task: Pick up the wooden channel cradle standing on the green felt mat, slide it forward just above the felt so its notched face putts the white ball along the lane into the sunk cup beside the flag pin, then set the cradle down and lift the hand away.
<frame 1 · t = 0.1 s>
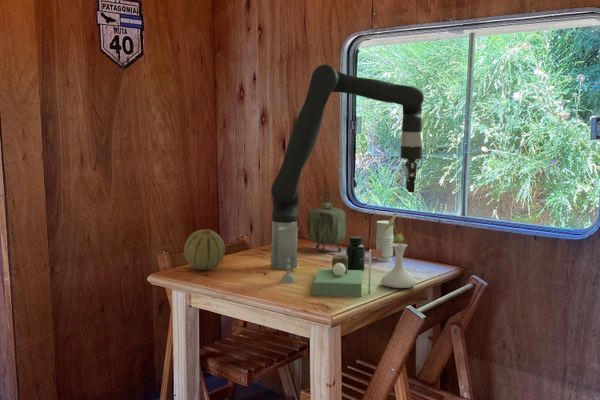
hand: (410, 190, 216), 29 cm above the table, tool pointing down, fingers open, 8 cm apart
supplement bottle: (355, 270, 221), on the table
flag pin: (369, 293, 190), on the table
chalice: (288, 281, 204), on the table
cantaloupe: (204, 270, 219), on the table
candle: (384, 260, 238), on the table
green: (338, 287, 197), on the table
ball: (339, 269, 201), point 5 cm above the table, touching green
tabletop clock: (325, 251, 253), on the table
wooden channel cradle: (340, 271, 209), point 2 cm above the table, touching green
flower in vase: (396, 287, 198), on the table
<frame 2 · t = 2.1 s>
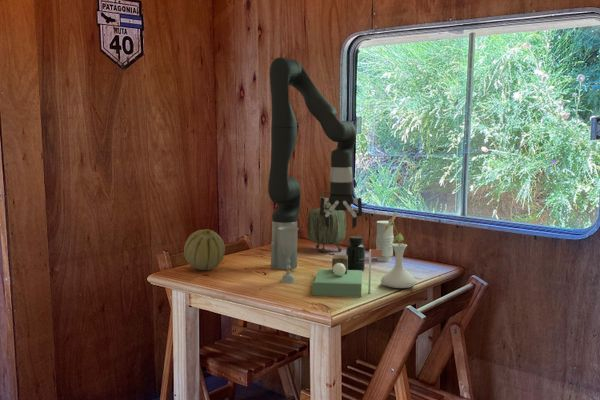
hand: (340, 227, 207), 17 cm above the table, tool pointing down, fingers open, 8 cm apart
nothing on the table moved.
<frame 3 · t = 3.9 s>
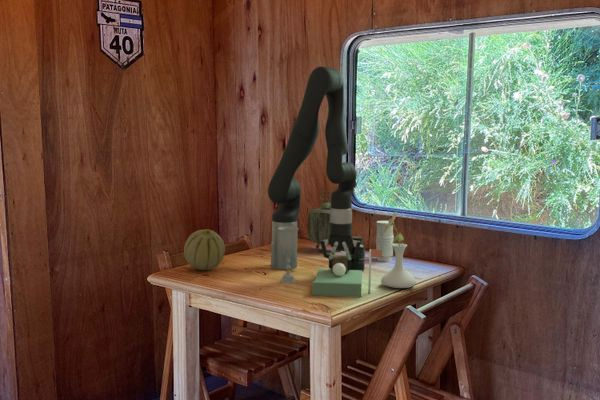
hand: (340, 269, 209), 3 cm above the table, tool pointing down, fingers closed on wooden channel cradle, 5 cm apart
wooden channel cradle: (340, 271, 209), point 2 cm above the table, touching green, gripper
everything else where it was.
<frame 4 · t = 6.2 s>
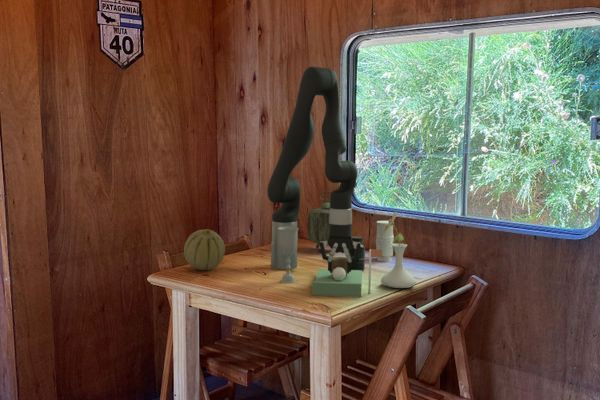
hand: (339, 272, 201), 4 cm above the table, tool pointing down, fingers closed on wooden channel cradle, 5 cm apart
ball: (339, 273, 196), point 5 cm above the table, tilted 103°
wooden channel cradle: (339, 273, 201), point 3 cm above the table, touching gripper
everything else where it was.
when the fingers open (4 cm above the table, at t = 9.4 s): wooden channel cradle drops 1 cm, resting on green.
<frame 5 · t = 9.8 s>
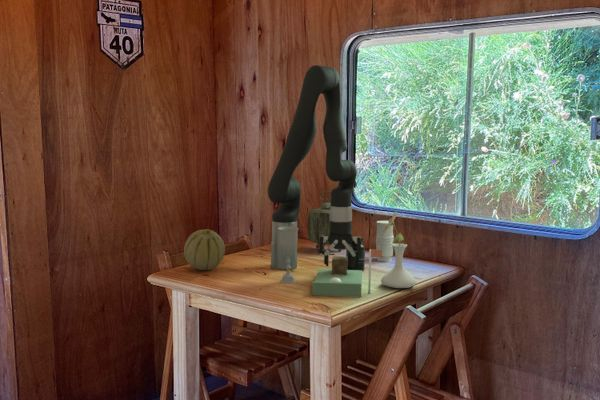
hand: (339, 266, 206), 4 cm above the table, tool pointing down, fingers open, 8 cm apart
ball: (335, 284, 192), point 2 cm above the table, tilted 133°
wooden channel cradle: (339, 272, 207), point 2 cm above the table, touching green
everything else where it was.
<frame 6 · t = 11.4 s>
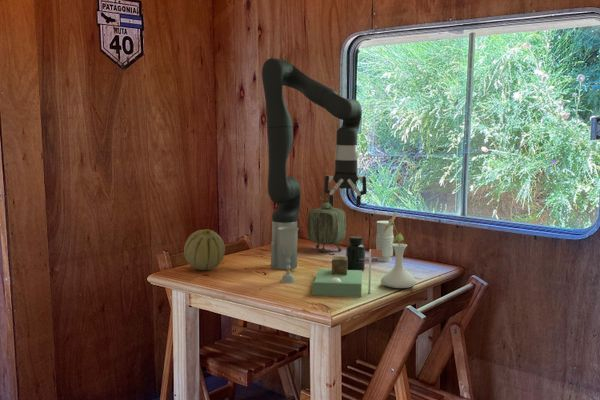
hand: (344, 206, 207), 25 cm above the table, tool pointing down, fingers open, 8 cm apart
nothing on the table moved.
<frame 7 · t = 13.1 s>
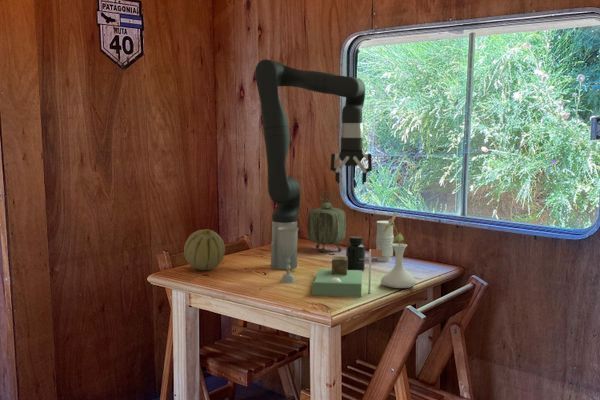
hand: (350, 183, 211), 32 cm above the table, tool pointing down, fingers open, 8 cm apart
nothing on the table moved.
at the end: ball 1.1 cm from the target spot in the green, point 2.2 cm above the green's base; the gripper is holding nothing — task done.
